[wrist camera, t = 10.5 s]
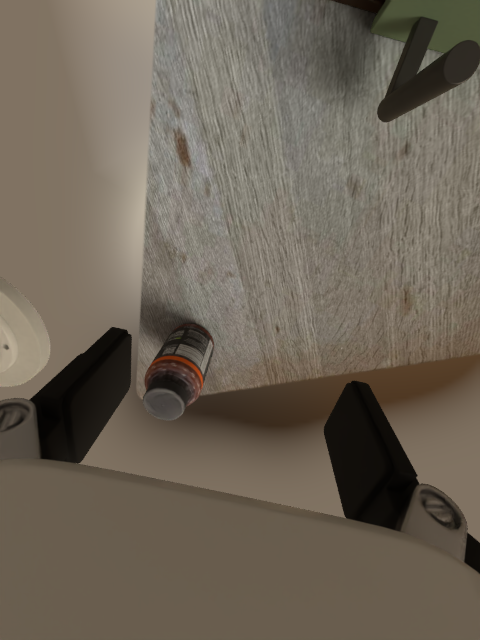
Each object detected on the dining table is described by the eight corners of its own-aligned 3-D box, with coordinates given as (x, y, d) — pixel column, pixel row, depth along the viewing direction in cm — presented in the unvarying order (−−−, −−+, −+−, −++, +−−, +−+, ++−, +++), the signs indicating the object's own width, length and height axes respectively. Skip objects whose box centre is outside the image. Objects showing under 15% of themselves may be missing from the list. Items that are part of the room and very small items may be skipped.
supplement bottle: (194, 367, 36) (167, 437, 26) (161, 339, 34) (118, 402, 24) (224, 343, 34) (207, 410, 24) (190, 312, 32) (156, 369, 22)
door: (340, 118, 22) (413, 51, 11) (374, 18, 19) (517, -207, 8) (439, 145, 22) (608, 105, 11) (487, 49, 19) (774, -128, 8)
